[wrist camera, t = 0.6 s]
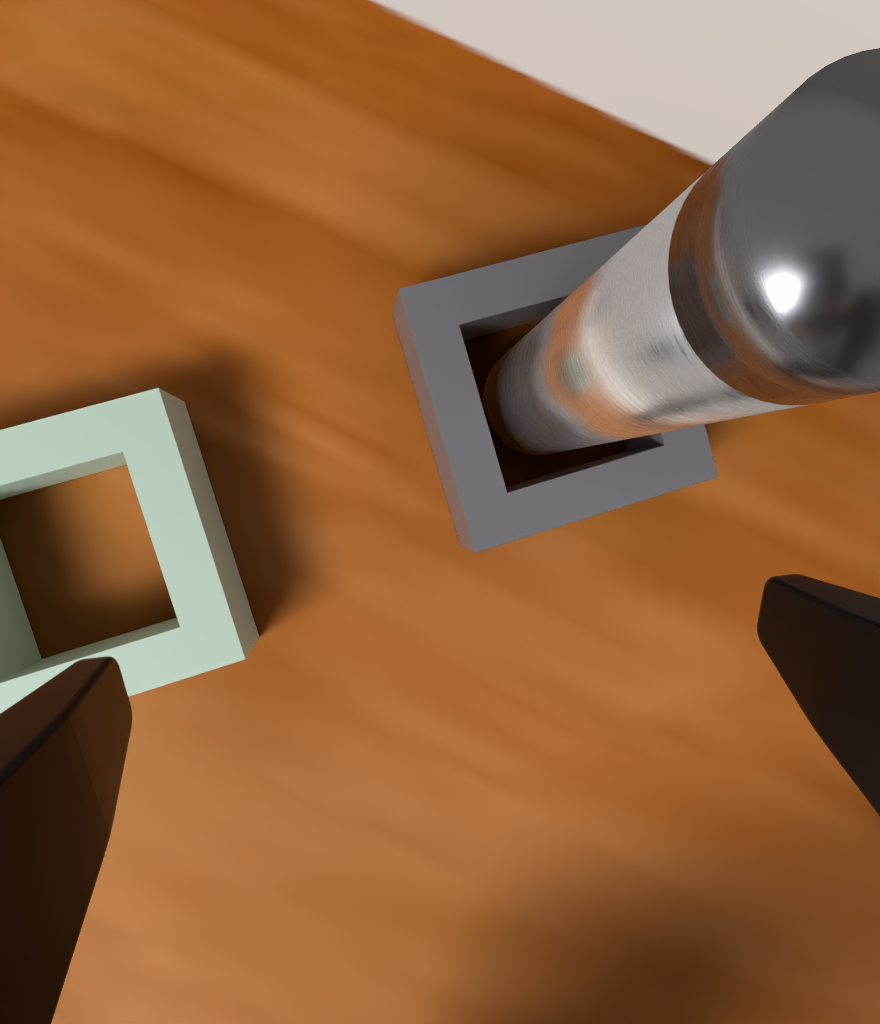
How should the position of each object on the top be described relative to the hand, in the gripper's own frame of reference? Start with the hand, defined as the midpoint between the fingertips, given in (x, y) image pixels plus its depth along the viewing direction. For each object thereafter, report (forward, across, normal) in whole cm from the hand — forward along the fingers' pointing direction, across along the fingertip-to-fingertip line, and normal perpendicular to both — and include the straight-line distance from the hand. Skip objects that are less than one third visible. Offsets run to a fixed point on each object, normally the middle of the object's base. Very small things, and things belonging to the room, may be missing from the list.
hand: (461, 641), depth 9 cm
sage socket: (+14, +10, +4) cm, 17 cm away
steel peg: (+15, -6, +1) cm, 16 cm away
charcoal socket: (+15, -6, +1) cm, 16 cm away
